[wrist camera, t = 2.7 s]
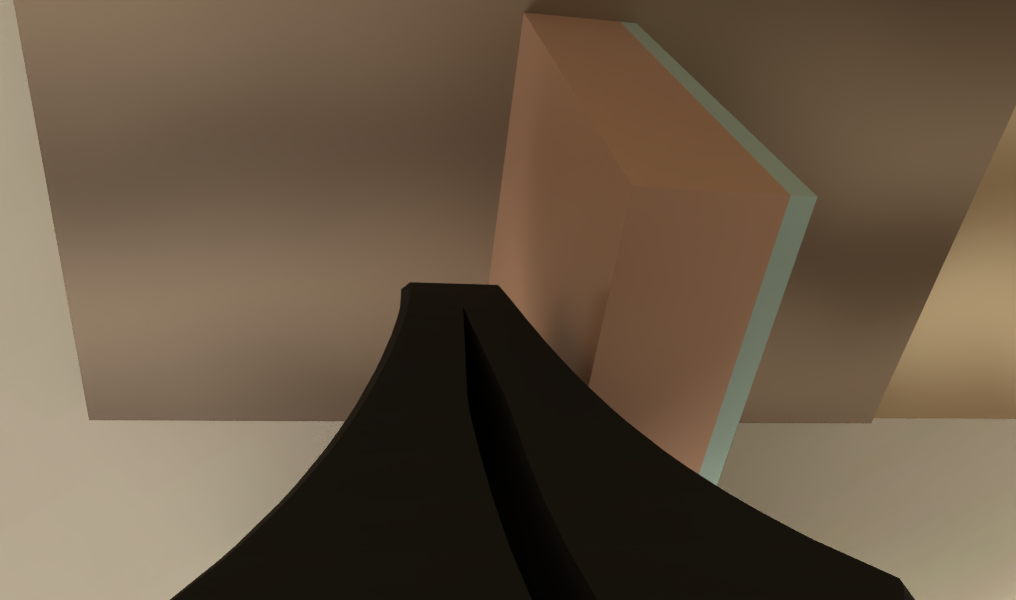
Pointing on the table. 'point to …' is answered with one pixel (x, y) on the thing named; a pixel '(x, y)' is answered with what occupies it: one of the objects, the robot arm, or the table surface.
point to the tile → (643, 231)
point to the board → (477, 183)
